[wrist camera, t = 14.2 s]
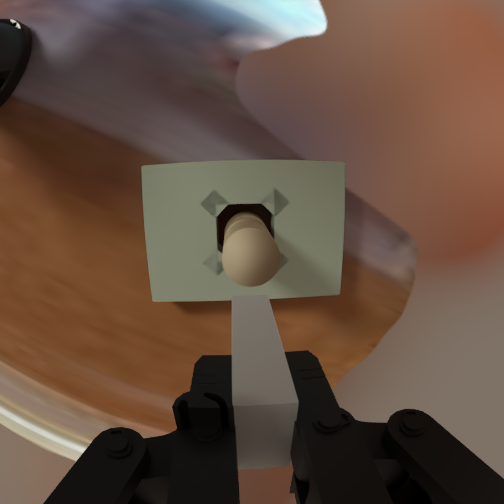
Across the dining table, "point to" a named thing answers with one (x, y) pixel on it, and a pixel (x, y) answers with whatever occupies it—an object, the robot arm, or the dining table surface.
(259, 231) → the peg
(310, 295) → the seat plank
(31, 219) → the dining table surface
